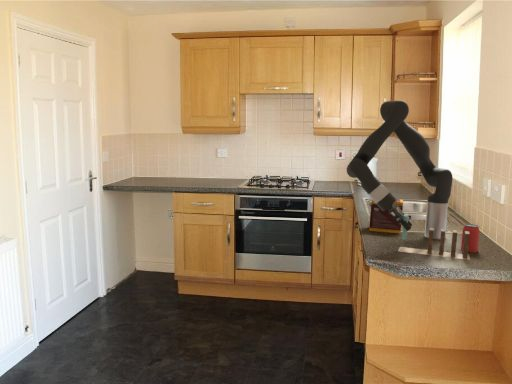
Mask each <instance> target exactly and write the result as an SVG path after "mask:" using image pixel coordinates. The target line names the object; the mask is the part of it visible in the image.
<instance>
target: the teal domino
mask: <svg viewBox="0 0 512 384" xmlns="http://www.w3.org/2000/svg"><path fill="white" fill-rule="evenodd" d="M409 216H410V215H409V213H404V219H405V221H406V222H407V223H408V220H409ZM407 238H408V231H407V230H406V229H405V228H404V227H403V226H402V234H401V240H403V241H404V240H405V241H406V240H407Z"/></svg>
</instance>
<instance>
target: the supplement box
mask: <svg viewBox="0 0 512 384" xmlns="http://www.w3.org/2000/svg"><path fill="white" fill-rule="evenodd" d="M393 204H394V205H395V206H398V207H399V208H400V209H401V210H402V212H404V209H403V208H404V200H403V199H398V198H396V201H395V202H394V203H393ZM369 215H370V216H369V229H368V231H369V232H378V233H379V232H380V233H390V234H401V231H402V225H401V224H398V222H397V221H396V220H395V219H394V218H393V217H392V216H390V213H389V210H388V209H386V210H385V211H382V210H381V209H380V208H379V207H378V205H377V204H376V203H375V202H374V201H373V200H372V199H371V201H370V214H369ZM399 220H400V219H399Z"/></svg>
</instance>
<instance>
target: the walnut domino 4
mask: <svg viewBox="0 0 512 384" xmlns="http://www.w3.org/2000/svg"><path fill="white" fill-rule="evenodd" d="M469 235H470V233H469V231H465V234H464V245H463V250H462V254H463V258H467V256H468V255H469V252H468V246H469Z"/></svg>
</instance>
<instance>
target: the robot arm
mask: <svg viewBox="0 0 512 384" xmlns="http://www.w3.org/2000/svg"><path fill="white" fill-rule="evenodd" d="M409 107H410V106H409V104H408V103H407V102H406V101H404V100H387V101H385V102H383V103H382V104H381V106H380V108H379V112H380V116H381V118H382V120H383V123H382V124H381V125H380V126H378V128H376V130H374V131H373V132H372V133H371V134H370V135H368V136H367V137H366V138H365V140H364V142H363V143H362V144H361V146H360V147H359V149H358V151H357V153H356V154H355V155H354V157H353V158H352V159H351V161H350V162H349V163H348V165H347V167H346V173H347V175H348V177H350V178H353V179H354V178H355V179H356V178H357V180H358V181H359V182H360V185H361V188H362V190H364V192H366V193H367V194H368V196H369V197H370V198H371V200H373V201H374V202H375V203H376V204H377V205H378V207H379V208H380V209H381V210H382V211H385V210H386V209H388V210H389V213H390V216H392V217H393V218H394V219H395V220H396V221H397V222H398V224H401V227H402V228H403V227H404V228H405V229H406V230H407V232H408V231H410V230H411V229H412V226H413V224H412V222H411V221H410V220H409V219H408V223H407V222H406V221H405V219H404V214H405V213H404V211H402V210H401V209H400V208H399V207H398V206H395V205H394V204H393V203H394V202H395V201H396V199H397V198H396V197H395V196H394V195H393V194H392V193H391V192H390V190H389V189H388V188H387V187H386V186H384V185H383V184H382V183H381V182H380V181H379V179H377V177H376V176H375V175H374V174H373V171H372V169H371V168H370V167H369V166H368V165H369V163H370V162H371V161H372V160H373V159H374V157H375V156H376V154H377V153H378V151H379V150H380V149H381V147H382V146H383V144H384V143H385V142H386V140H388V138H389V137H390V136H391V135H392V134H393V133H394V134H395V135H396V137H397V138H398V140H399V141H400V143H401V144H402V146H404V149H405V150H406V151H407V152H408V154H409V156H410V157H411V158H412V160H413V162H414V163H415V165H416V167H418V169H419V170H420V172H421V174H422V176H423V179H424V181H425V182H426V183H427V184H428V186H430V187H431V188H435V191H434V193H431V194H428V196H427V202H426V214H425V223H424V225H425V226H424V238H427V239H429V229H430V228H434V232H433V240H440V237H441V229H445V239H446V238H447V229H448V216H447V215H448V207H449V199H450V197H451V193H452V188H453V179H454V178H453V173H452V172H451V170H450V169H447V168H441V167H437V166H436V165H435V164H434V162H433V161H432V160H431V158H430V155H431V151H430V150H431V148H430V144H429V143H428V142H427V141H426V139H425V137H424V136H423V135H422V133H420V132H419V131H418V130H417V129H415V128H414V127H413V126H412V125H410V124H408V123H407V122H406V121H405V120H406V119H407V118H408V116H409V113H410V109H409ZM399 219H400V220H399Z"/></svg>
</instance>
